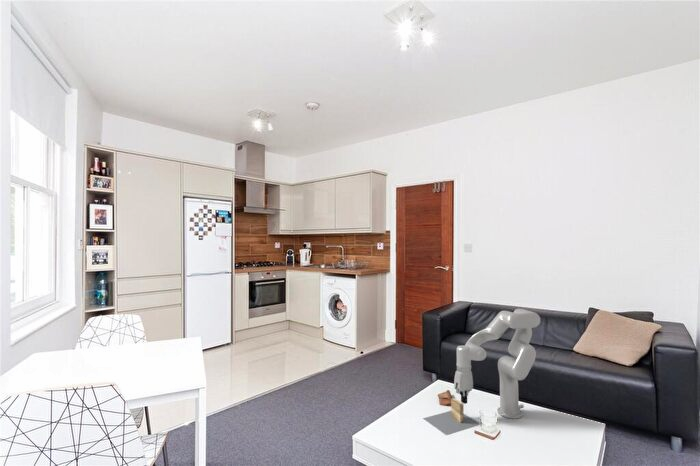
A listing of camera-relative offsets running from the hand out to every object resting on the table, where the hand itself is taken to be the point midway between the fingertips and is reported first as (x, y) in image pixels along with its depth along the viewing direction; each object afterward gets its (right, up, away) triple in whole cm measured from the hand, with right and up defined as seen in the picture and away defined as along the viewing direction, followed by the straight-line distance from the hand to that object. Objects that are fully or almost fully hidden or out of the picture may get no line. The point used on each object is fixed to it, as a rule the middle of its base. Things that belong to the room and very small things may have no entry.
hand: (464, 402), depth 193 cm
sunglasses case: (-4, -10, +22) cm, 25 cm away
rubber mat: (-8, -9, -4) cm, 13 cm away
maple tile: (-4, -8, -2) cm, 10 cm away
